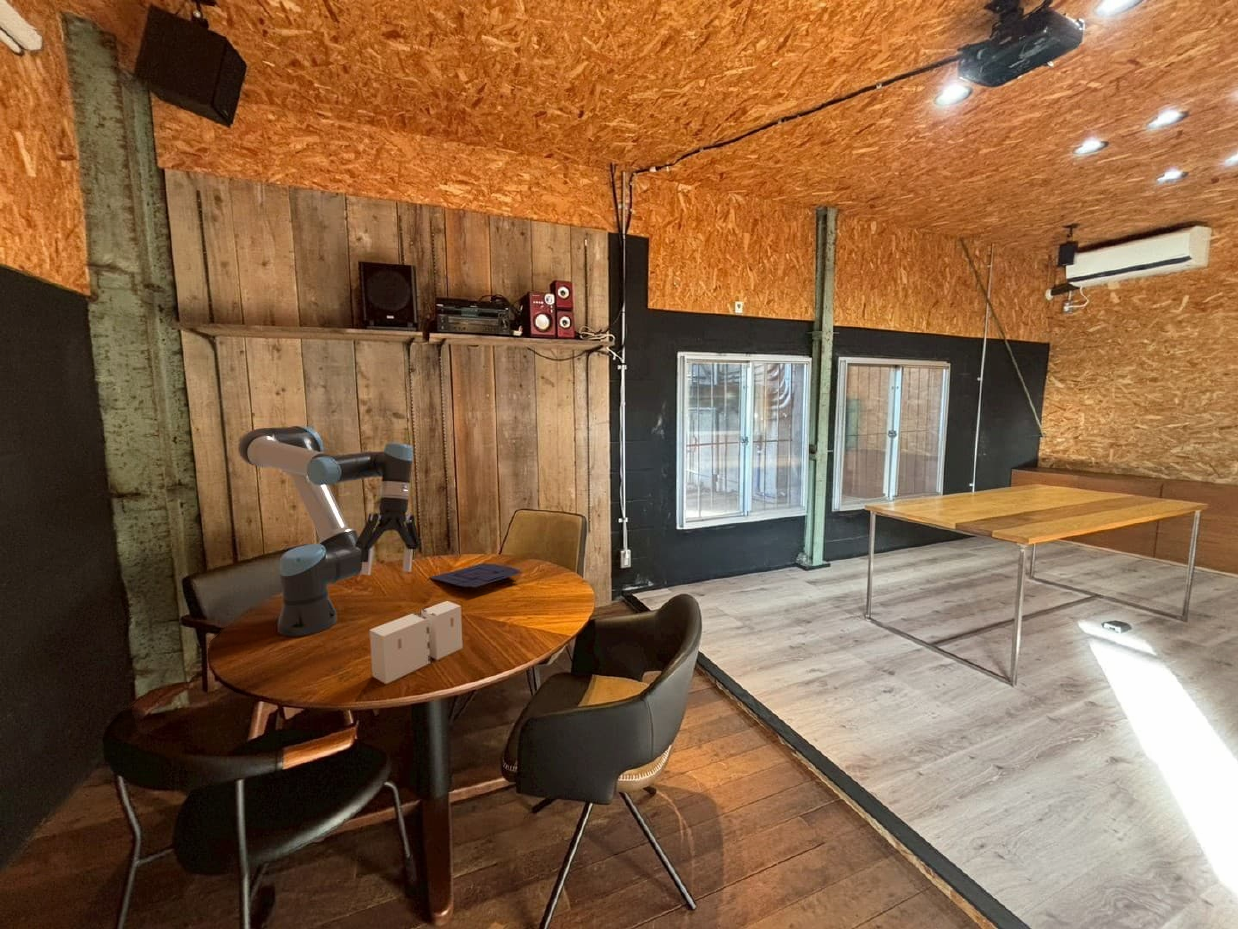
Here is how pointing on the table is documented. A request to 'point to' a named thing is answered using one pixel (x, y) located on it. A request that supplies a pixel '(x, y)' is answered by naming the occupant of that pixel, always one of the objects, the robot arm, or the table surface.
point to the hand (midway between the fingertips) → (387, 573)
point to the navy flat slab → (477, 575)
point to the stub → (444, 628)
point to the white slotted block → (399, 647)
